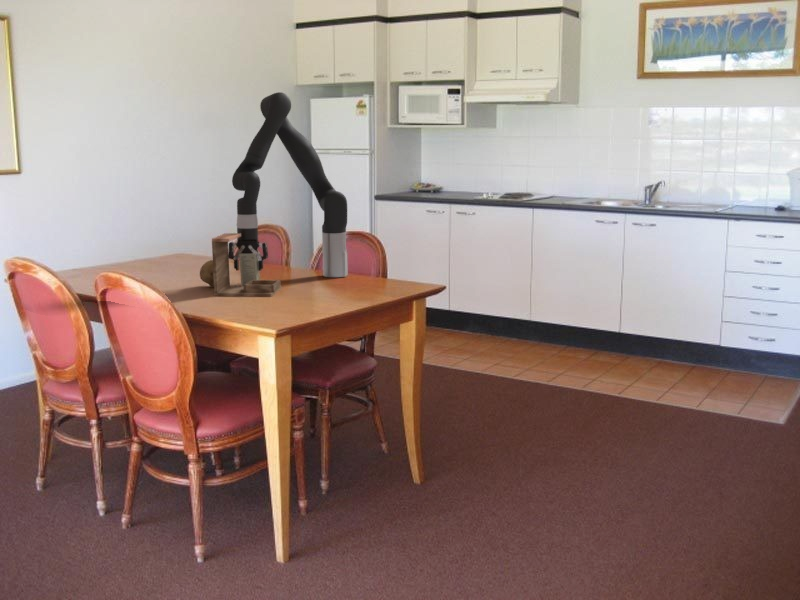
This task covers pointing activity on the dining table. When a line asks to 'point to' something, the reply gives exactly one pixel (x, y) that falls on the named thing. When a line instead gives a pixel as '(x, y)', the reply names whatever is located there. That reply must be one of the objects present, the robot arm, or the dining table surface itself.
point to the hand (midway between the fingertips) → (248, 270)
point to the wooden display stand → (223, 278)
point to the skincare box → (248, 268)
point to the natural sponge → (207, 273)
